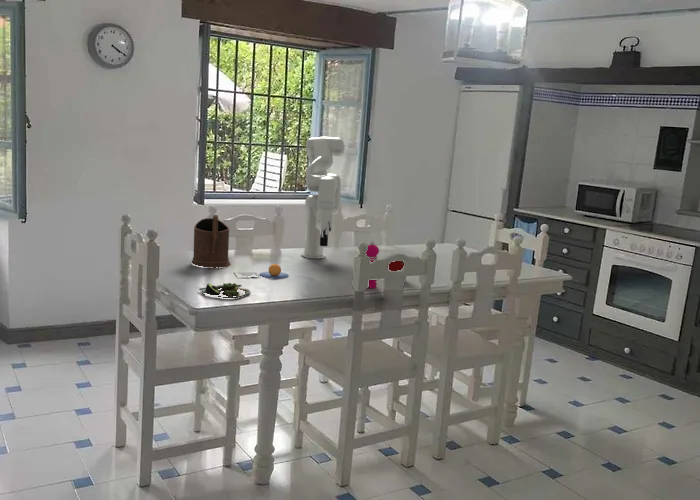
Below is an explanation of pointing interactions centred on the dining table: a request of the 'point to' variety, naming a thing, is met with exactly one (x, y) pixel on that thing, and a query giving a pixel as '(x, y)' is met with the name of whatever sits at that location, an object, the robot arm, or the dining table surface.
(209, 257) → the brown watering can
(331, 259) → the dining table surface
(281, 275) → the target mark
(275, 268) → the ball
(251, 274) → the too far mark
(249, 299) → the dining table surface
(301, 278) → the dining table surface
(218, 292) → the salad plate
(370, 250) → the pepper mill
